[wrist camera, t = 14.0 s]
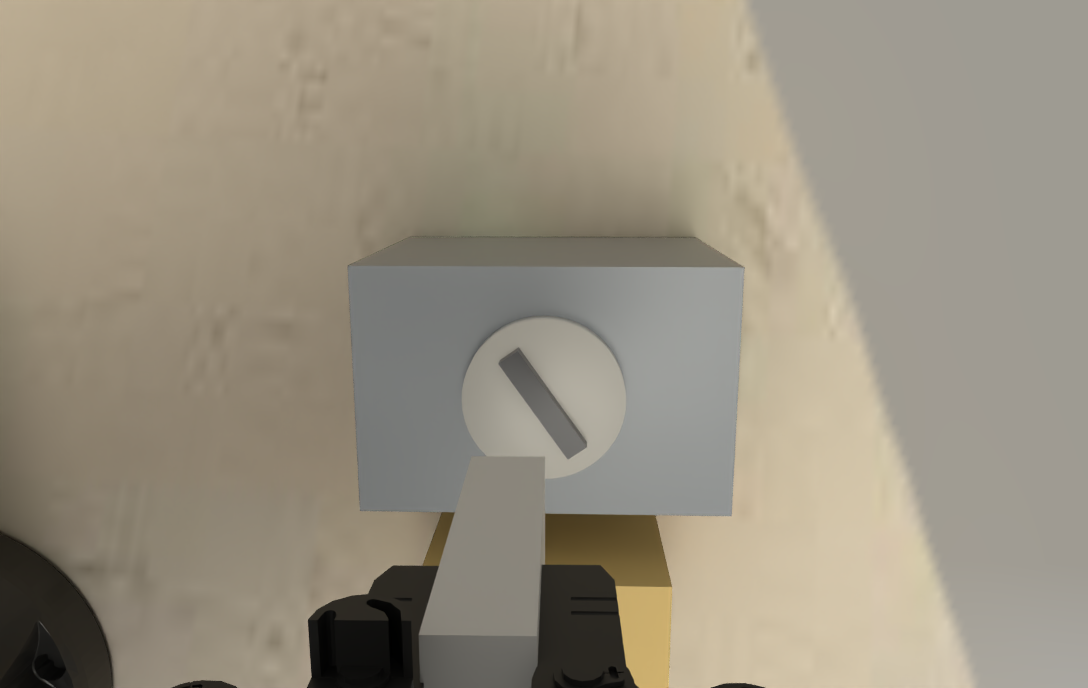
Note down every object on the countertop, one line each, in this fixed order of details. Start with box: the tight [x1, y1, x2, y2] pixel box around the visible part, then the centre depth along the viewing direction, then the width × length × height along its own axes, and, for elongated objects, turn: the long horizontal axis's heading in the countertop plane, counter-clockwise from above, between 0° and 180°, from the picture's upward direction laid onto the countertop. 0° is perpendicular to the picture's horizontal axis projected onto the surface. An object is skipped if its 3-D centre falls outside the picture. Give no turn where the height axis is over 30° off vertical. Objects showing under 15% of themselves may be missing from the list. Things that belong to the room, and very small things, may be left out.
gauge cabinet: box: [348, 237, 744, 516], centre depth 30 cm, size 8×12×11 cm, turn 90°
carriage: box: [423, 512, 672, 688], centre depth 32 cm, size 6×8×11 cm
